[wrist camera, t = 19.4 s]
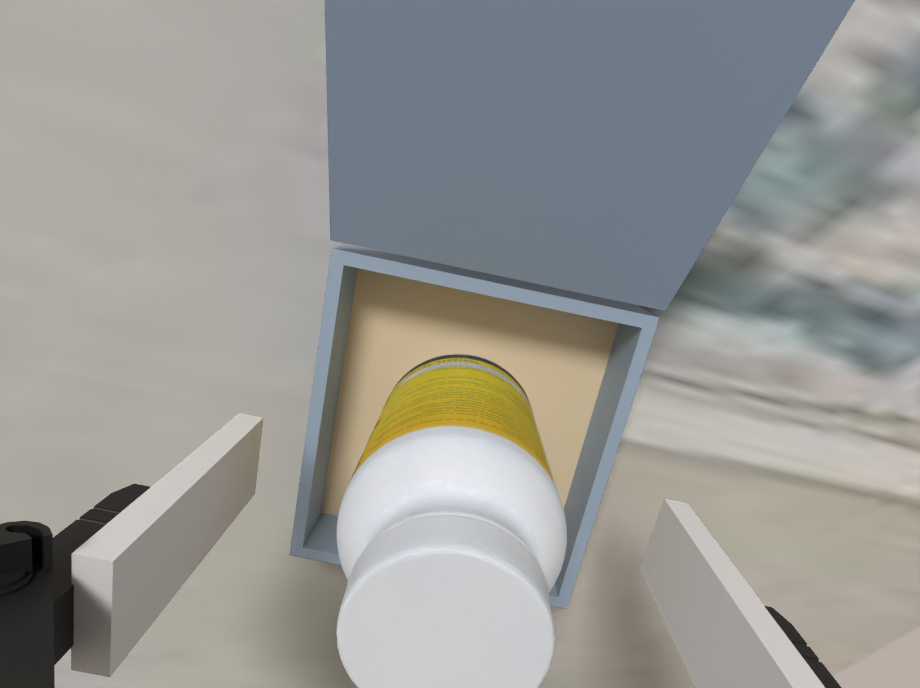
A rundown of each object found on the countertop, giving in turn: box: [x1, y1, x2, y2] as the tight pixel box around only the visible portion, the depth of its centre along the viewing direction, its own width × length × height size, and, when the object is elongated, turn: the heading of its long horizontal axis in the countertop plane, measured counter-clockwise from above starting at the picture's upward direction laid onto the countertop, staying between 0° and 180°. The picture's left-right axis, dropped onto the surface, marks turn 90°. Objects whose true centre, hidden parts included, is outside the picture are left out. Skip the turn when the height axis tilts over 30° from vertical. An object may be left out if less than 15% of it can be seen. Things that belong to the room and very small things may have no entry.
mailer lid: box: [325, 0, 855, 311], centre depth 12 cm, size 12×14×2 cm
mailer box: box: [290, 244, 660, 609], centre depth 20 cm, size 12×13×3 cm
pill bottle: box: [336, 354, 567, 688], centre depth 16 cm, size 6×6×12 cm
